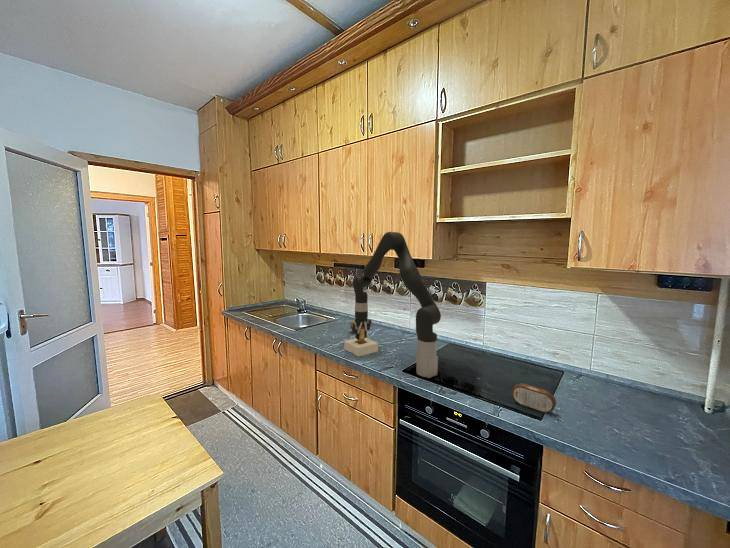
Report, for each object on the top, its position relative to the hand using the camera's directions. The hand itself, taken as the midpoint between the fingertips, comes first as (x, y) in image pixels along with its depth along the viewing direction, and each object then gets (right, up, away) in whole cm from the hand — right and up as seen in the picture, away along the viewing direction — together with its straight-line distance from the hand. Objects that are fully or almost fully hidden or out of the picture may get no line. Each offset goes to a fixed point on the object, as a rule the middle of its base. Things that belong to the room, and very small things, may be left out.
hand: (361, 338), depth 176 cm
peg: (0, -5, +1) cm, 5 cm away
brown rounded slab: (+68, -15, -58) cm, 90 cm away
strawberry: (-5, -4, +33) cm, 34 cm away
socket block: (0, -7, +1) cm, 7 cm away
